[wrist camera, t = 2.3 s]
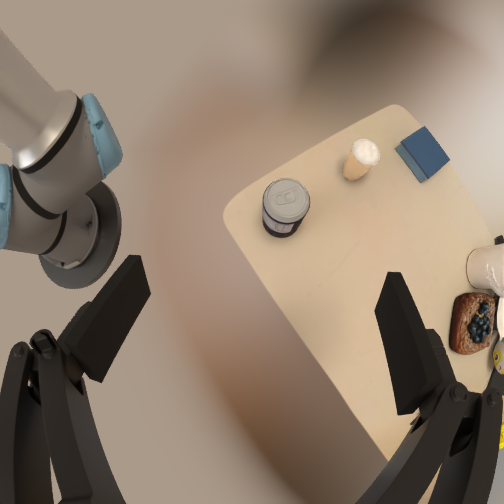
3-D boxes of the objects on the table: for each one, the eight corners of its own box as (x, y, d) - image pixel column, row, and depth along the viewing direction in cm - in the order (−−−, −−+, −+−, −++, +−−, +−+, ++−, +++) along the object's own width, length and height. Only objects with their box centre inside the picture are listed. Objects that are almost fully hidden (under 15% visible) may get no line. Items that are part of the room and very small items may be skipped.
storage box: (394, 149, 44) (401, 140, 40) (417, 133, 44) (424, 125, 41) (420, 184, 43) (429, 177, 39) (441, 166, 43) (450, 159, 40)
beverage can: (302, 234, 43) (317, 215, 31) (267, 242, 43) (269, 226, 31) (293, 200, 43) (304, 170, 31) (258, 207, 43) (257, 180, 31)
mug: (482, 311, 39) (522, 314, 27) (460, 267, 41) (502, 262, 29) (499, 284, 40) (537, 282, 28) (478, 241, 41) (517, 231, 29)
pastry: (487, 291, 39) (505, 291, 33) (482, 349, 38) (499, 353, 32) (451, 293, 40) (469, 293, 34) (445, 355, 39) (461, 362, 33)
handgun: (470, 258, 41) (498, 235, 41) (489, 332, 39) (516, 304, 39) (477, 257, 39) (504, 233, 39) (496, 333, 37) (522, 304, 36)
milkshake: (337, 186, 43) (356, 161, 33) (339, 158, 44) (355, 129, 34) (362, 191, 43) (386, 168, 33) (363, 163, 44) (384, 136, 34)
